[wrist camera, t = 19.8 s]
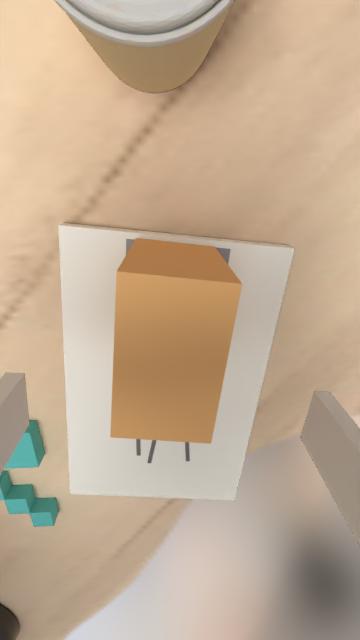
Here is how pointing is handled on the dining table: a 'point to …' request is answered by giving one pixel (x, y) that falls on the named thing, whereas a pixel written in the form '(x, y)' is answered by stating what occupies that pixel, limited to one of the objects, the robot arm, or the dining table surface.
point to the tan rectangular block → (171, 340)
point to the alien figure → (23, 495)
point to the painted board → (97, 369)
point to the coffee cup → (150, 37)
